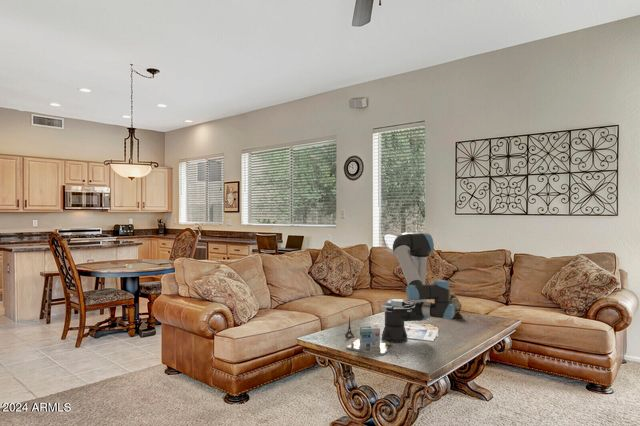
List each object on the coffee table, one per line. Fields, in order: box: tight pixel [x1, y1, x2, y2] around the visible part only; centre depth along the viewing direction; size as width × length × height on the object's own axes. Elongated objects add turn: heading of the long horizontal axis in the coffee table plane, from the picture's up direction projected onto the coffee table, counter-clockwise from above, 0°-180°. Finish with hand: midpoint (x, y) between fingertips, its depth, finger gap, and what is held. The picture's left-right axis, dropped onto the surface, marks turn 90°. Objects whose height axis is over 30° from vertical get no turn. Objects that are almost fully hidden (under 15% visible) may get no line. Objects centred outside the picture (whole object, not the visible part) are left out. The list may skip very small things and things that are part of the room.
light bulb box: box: [359, 324, 381, 348], centre depth 246 cm, size 11×7×11 cm, turn 95°
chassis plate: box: [345, 338, 394, 356], centre depth 246 cm, size 16×22×3 cm
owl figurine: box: [449, 292, 464, 320], centre depth 315 cm, size 18×12×17 cm, turn 34°
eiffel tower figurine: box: [336, 316, 359, 339], centre depth 267 cm, size 15×10×13 cm
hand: (386, 305), depth 242 cm, fingers open, 13 cm apart
